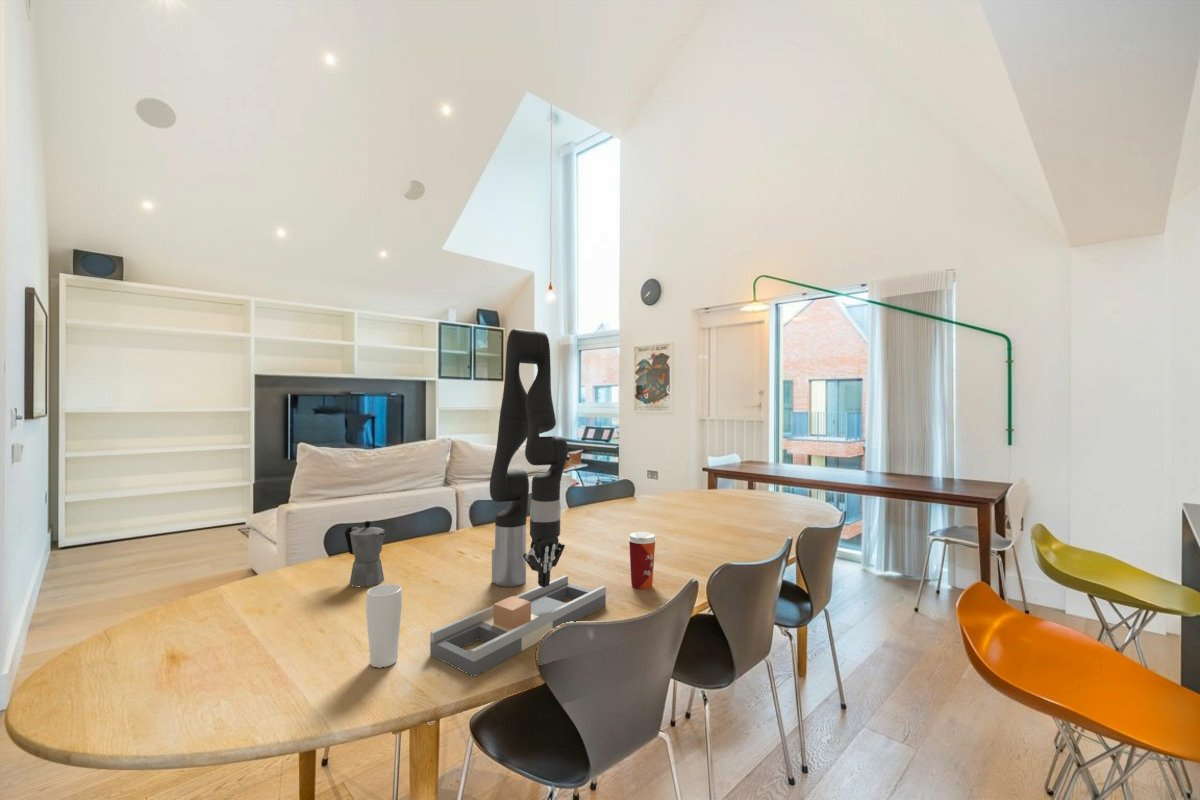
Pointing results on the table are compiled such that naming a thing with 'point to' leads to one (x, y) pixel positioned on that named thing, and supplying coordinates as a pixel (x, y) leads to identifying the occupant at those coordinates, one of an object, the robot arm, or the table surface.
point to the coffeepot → (365, 554)
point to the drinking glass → (383, 623)
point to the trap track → (510, 642)
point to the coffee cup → (642, 559)
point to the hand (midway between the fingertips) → (543, 585)
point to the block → (512, 612)
